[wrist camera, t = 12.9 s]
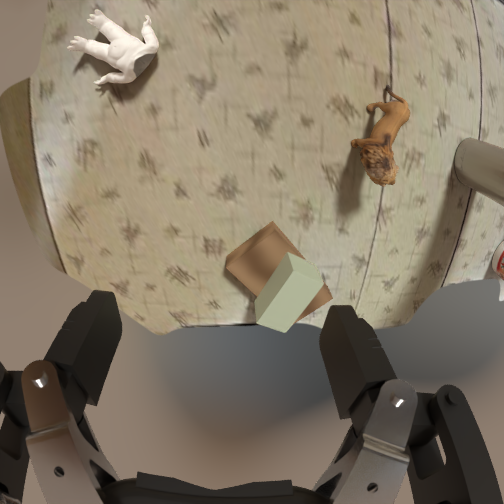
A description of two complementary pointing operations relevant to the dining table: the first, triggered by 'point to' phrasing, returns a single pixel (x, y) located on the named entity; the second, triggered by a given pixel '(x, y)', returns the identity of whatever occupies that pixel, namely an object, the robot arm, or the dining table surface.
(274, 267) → the walnut brick
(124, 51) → the toy creature
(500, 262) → the fruit juice
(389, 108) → the lion figurine
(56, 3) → the dining table surface
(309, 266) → the sage brick
